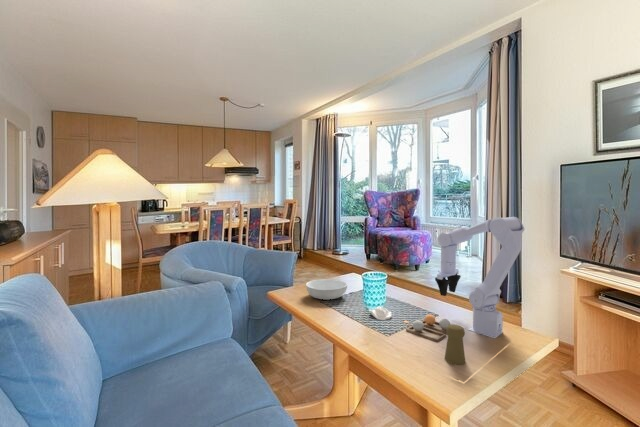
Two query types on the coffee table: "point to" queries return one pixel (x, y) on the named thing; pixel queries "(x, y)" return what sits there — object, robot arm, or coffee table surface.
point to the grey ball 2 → (444, 324)
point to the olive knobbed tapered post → (455, 345)
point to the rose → (381, 313)
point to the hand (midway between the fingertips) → (447, 293)
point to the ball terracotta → (430, 319)
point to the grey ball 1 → (418, 325)
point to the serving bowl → (326, 288)
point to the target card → (406, 322)
